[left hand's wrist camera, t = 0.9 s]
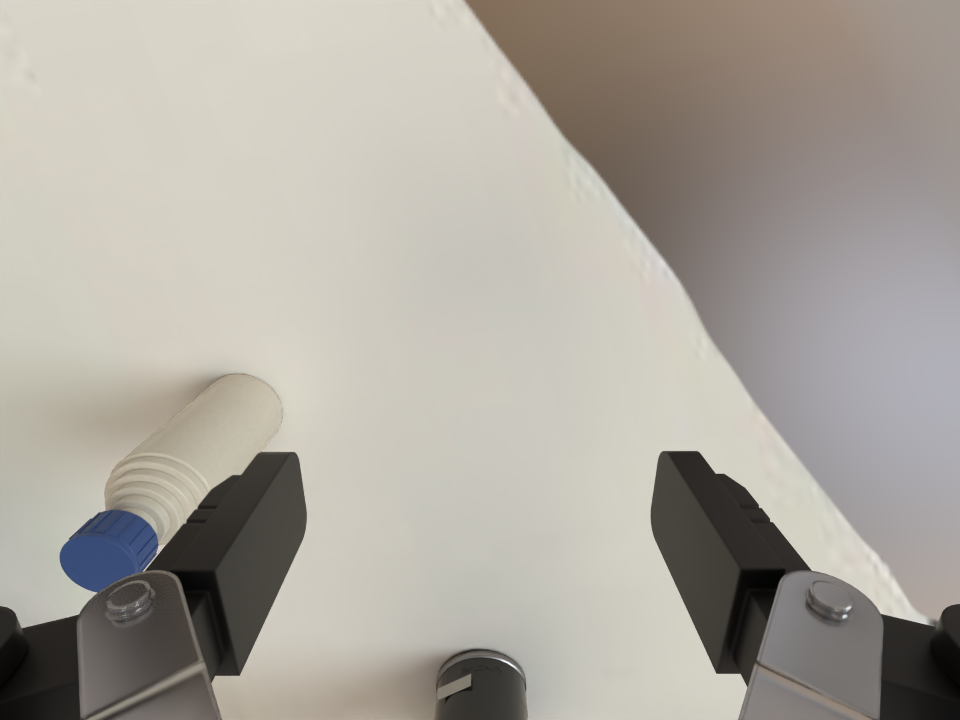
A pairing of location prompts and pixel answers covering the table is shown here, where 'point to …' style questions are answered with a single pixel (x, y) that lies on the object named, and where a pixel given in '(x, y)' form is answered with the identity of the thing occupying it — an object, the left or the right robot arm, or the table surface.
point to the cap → (108, 549)
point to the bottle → (195, 453)
